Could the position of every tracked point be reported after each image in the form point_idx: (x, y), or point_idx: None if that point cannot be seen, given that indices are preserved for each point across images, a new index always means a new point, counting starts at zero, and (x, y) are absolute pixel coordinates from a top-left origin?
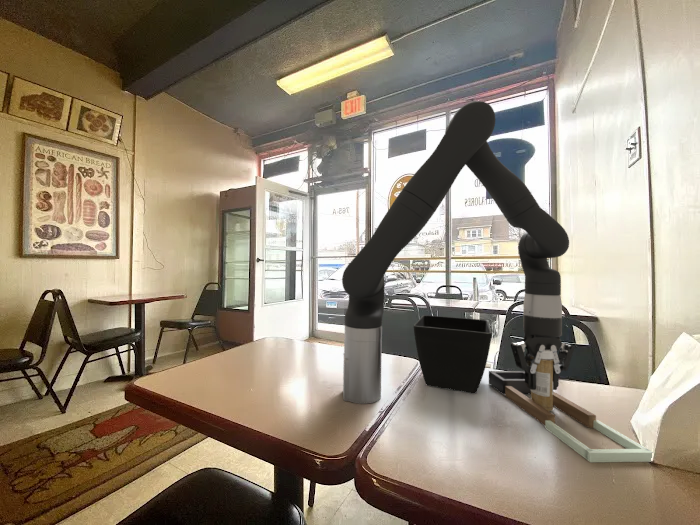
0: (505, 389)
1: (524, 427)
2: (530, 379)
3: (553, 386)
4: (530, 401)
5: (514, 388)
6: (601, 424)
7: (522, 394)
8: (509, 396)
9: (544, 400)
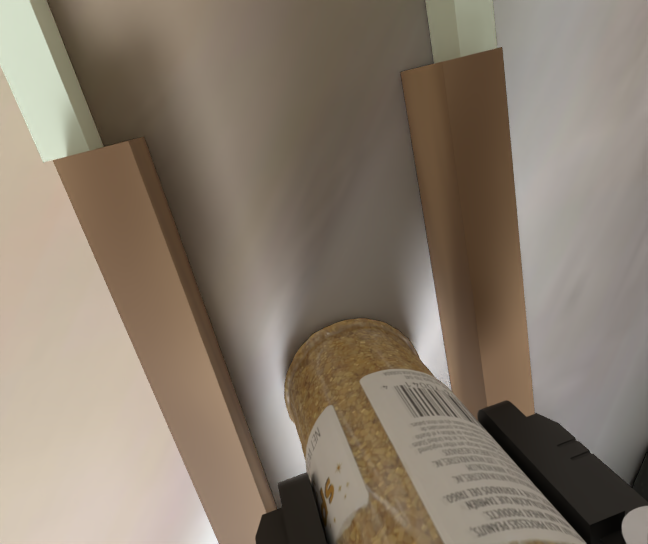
0: None
1: (592, 36)
2: (581, 465)
3: (313, 496)
4: (501, 300)
5: None
6: (49, 77)
7: None
8: None
9: (387, 351)
